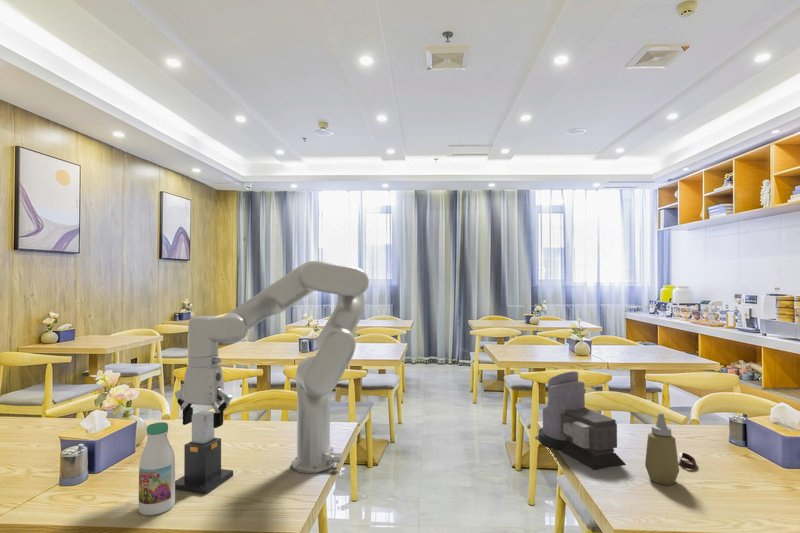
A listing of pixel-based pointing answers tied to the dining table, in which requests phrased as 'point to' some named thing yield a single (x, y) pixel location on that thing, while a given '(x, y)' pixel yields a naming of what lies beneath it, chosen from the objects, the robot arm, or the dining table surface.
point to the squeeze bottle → (661, 454)
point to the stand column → (202, 428)
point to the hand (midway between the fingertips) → (202, 424)
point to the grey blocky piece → (577, 425)
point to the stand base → (202, 468)
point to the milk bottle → (157, 472)
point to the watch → (685, 464)
